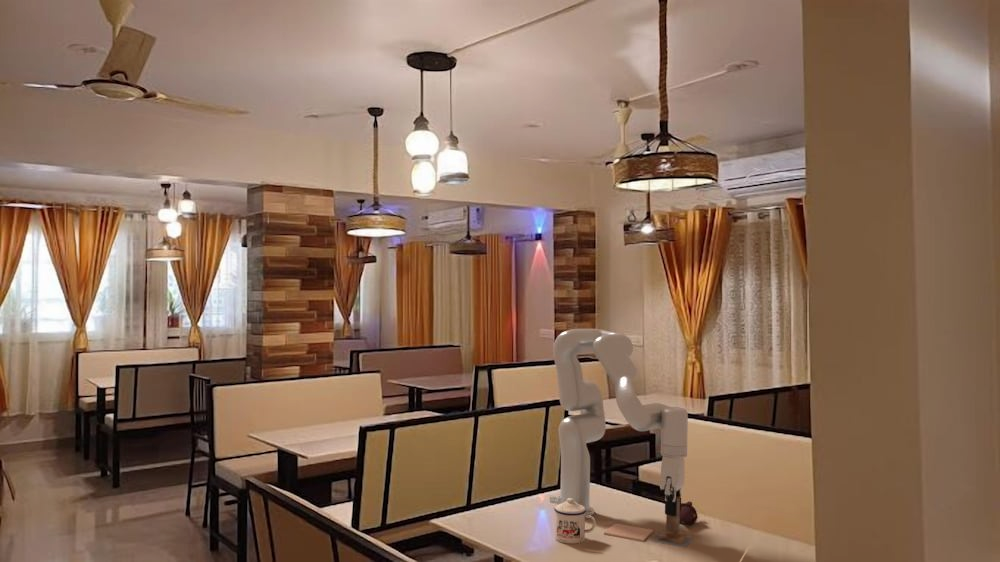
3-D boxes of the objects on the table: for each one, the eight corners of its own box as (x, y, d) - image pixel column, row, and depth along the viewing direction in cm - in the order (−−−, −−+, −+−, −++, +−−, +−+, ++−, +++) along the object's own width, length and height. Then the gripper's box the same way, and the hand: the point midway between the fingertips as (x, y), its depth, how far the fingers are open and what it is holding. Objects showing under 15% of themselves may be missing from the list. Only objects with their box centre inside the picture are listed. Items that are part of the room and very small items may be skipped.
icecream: (697, 512, 216) (703, 503, 230) (673, 503, 219) (680, 495, 233) (691, 534, 216) (696, 524, 230) (667, 524, 219) (674, 515, 233)
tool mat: (651, 542, 208) (651, 540, 208) (660, 533, 215) (660, 532, 215) (686, 548, 203) (686, 547, 203) (693, 539, 211) (693, 538, 211)
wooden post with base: (658, 539, 209) (659, 497, 209) (663, 534, 213) (664, 493, 213) (682, 544, 205) (683, 501, 205) (686, 539, 210) (687, 497, 210)
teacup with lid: (552, 542, 206) (552, 501, 206) (556, 532, 215) (557, 493, 215) (594, 546, 203) (594, 505, 203) (596, 536, 212) (597, 496, 212)
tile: (614, 528, 221) (603, 537, 213) (615, 523, 221) (603, 532, 213) (653, 535, 216) (643, 544, 207) (653, 530, 216) (643, 539, 207)
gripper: (669, 443, 219) (668, 503, 218) (653, 453, 204) (652, 518, 204) (693, 446, 215) (692, 507, 215) (679, 457, 200) (678, 522, 200)
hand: (673, 512), depth 209 cm, fingers open, 4 cm apart
